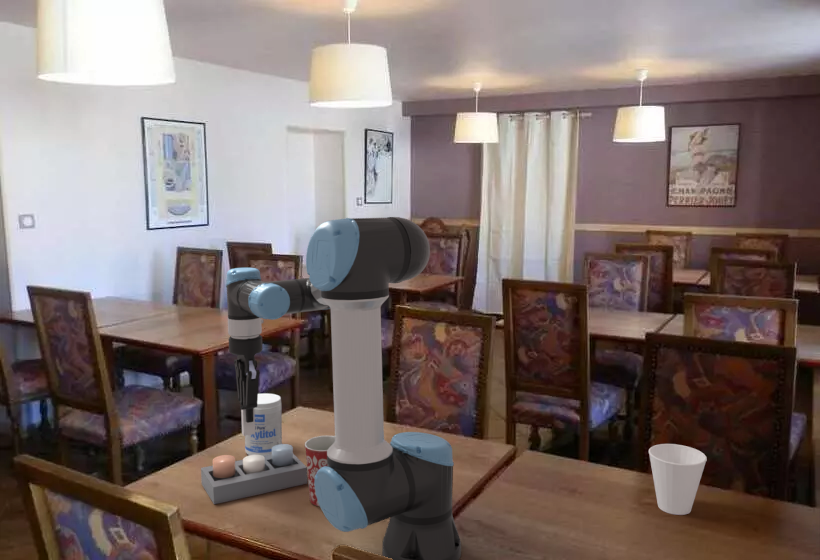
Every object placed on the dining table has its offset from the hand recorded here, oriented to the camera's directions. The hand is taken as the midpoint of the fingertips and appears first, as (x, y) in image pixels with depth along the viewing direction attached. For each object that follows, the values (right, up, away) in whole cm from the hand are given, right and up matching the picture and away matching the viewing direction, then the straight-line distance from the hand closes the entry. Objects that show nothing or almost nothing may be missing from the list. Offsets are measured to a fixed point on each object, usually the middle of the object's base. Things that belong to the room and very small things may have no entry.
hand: (248, 433), depth 161 cm
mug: (+20, -13, -4) cm, 24 cm away
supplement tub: (-1, -10, +22) cm, 24 cm away
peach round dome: (-5, -9, -2) cm, 10 cm away
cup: (+96, -14, -10) cm, 98 cm away
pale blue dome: (+7, -8, +5) cm, 12 cm away
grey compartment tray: (+1, -12, +2) cm, 13 cm away
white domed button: (+1, -10, +2) cm, 10 cm away
